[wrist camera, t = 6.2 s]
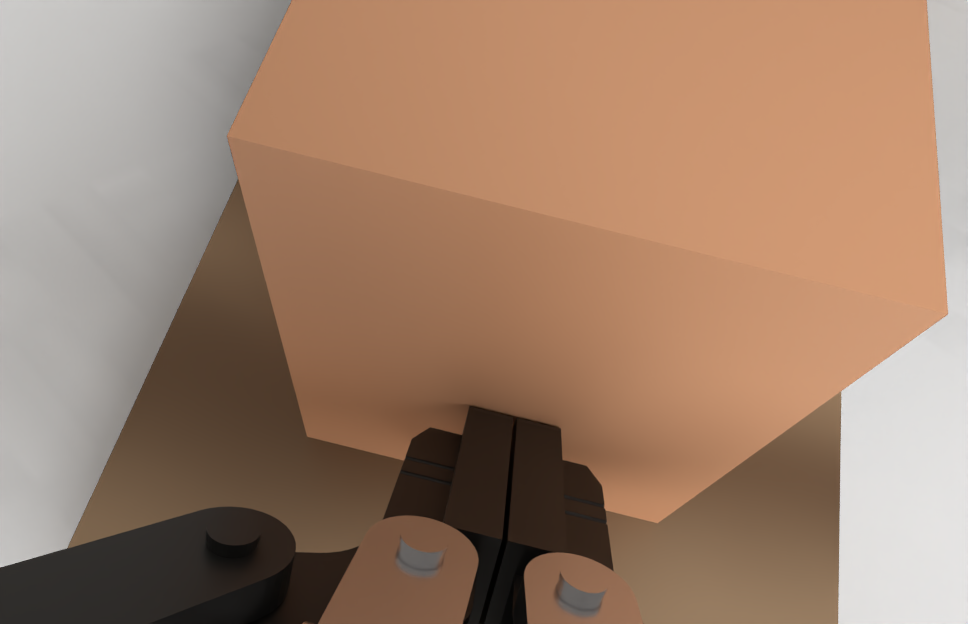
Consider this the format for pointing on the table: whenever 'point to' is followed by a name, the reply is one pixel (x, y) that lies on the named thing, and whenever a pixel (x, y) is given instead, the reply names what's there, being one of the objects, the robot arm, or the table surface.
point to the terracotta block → (593, 219)
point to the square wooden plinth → (372, 477)
